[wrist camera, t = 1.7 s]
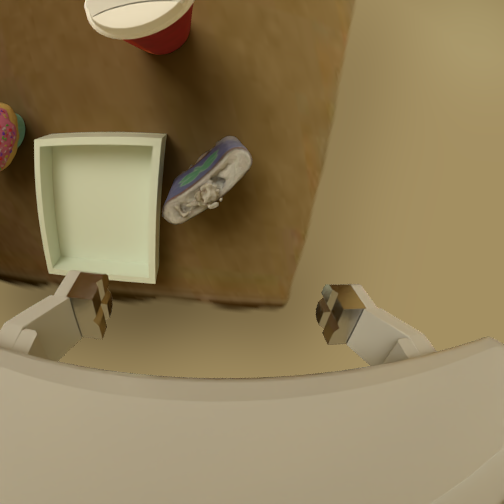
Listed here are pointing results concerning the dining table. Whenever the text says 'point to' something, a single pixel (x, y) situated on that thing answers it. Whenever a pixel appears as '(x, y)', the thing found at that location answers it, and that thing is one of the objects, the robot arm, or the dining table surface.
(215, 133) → the dining table surface
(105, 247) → the serving bin
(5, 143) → the cupcake
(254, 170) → the dining table surface
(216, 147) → the flask
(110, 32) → the paper cup
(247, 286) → the dining table surface
